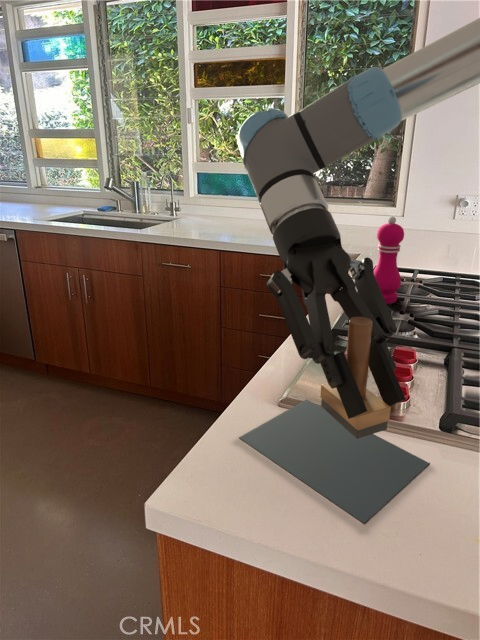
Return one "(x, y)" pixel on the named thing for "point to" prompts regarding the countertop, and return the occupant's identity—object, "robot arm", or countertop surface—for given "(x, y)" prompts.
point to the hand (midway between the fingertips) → (376, 408)
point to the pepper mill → (389, 259)
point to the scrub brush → (358, 363)
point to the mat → (336, 459)
